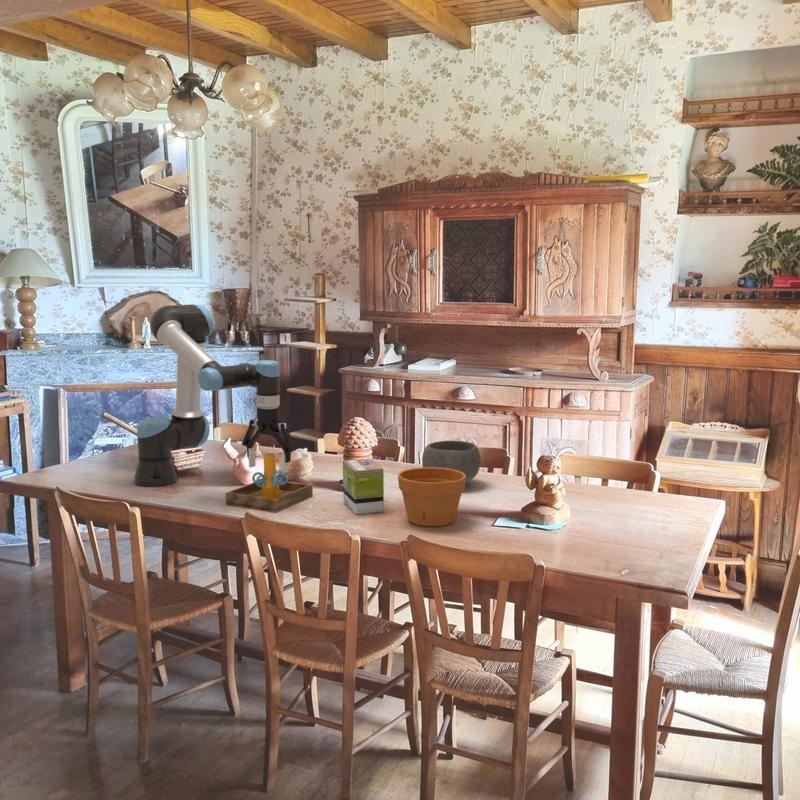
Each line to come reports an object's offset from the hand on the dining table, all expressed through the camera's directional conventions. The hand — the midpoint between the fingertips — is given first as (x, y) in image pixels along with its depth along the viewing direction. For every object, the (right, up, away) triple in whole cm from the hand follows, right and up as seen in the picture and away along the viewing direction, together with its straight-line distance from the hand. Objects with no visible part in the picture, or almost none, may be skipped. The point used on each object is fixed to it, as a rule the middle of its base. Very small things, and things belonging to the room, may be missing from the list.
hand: (268, 469), depth 282 cm
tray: (0, -11, +1) cm, 11 cm away
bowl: (+63, -8, +22) cm, 67 cm away
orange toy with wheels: (0, -10, +1) cm, 10 cm away
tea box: (+32, -12, -6) cm, 35 cm away
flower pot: (+54, -14, -20) cm, 60 cm away
